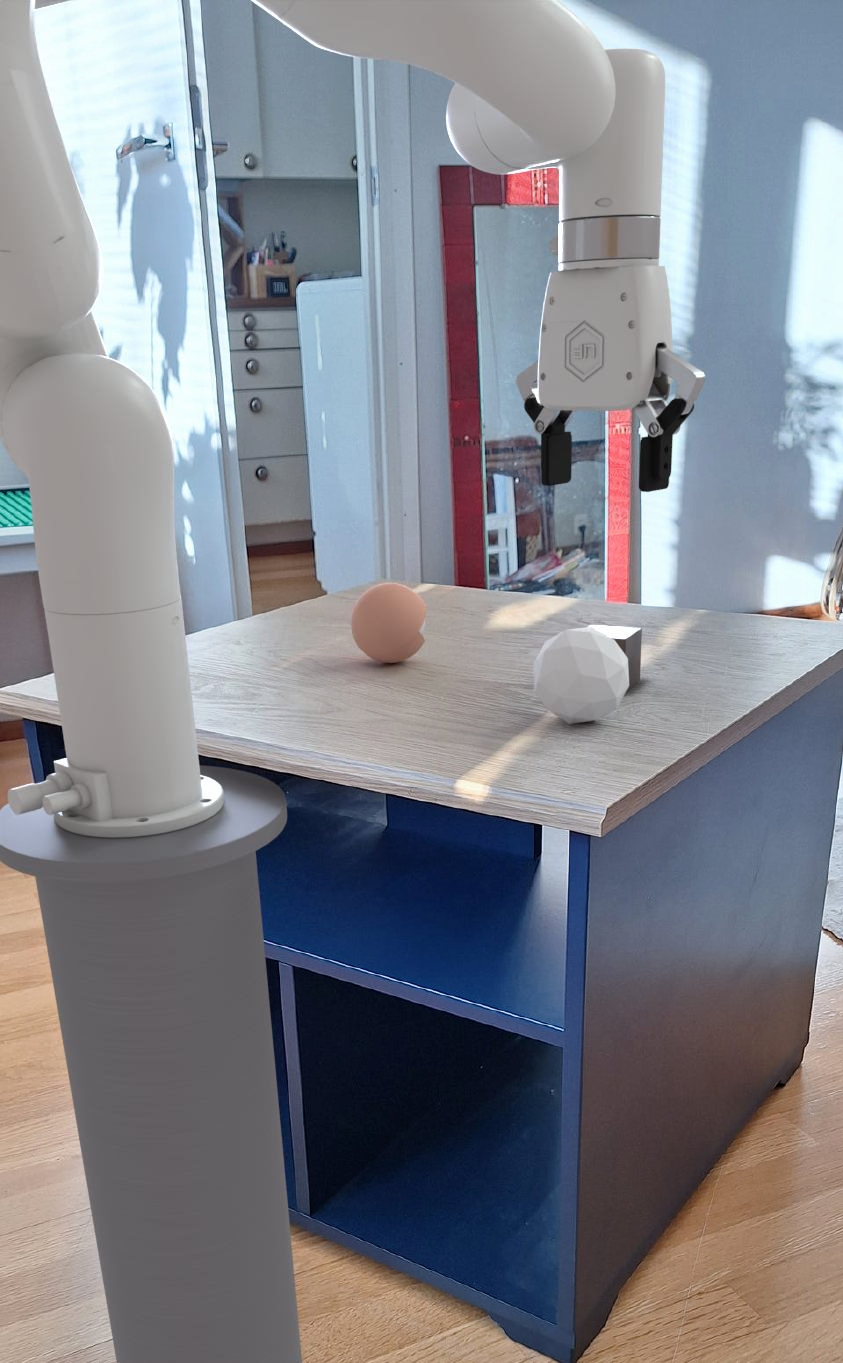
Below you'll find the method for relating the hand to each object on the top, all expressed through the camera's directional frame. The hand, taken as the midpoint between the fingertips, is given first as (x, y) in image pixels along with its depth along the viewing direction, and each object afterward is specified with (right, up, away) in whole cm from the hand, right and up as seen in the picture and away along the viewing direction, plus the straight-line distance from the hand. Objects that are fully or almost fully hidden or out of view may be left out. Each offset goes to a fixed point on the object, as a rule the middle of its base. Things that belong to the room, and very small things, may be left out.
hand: (603, 486), depth 104 cm
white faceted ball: (-2, -17, +8) cm, 19 cm away
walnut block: (+3, -13, +16) cm, 21 cm away
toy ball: (-18, -9, +28) cm, 34 cm away
